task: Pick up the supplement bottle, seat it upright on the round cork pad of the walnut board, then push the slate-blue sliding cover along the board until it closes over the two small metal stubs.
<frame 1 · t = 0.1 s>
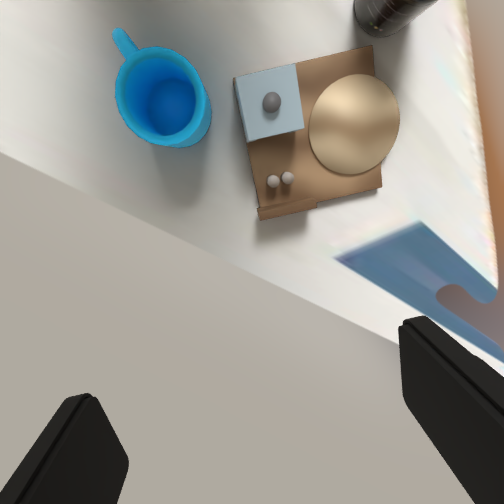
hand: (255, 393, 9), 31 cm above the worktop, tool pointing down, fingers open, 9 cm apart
cover: (269, 106, 31), point 4 cm above the worktop, slide at 0.0 cm
mug: (167, 96, 34), on the worktop
board: (310, 137, 36), on the worktop
supplement bottle: (381, 4, 32), on the worktop
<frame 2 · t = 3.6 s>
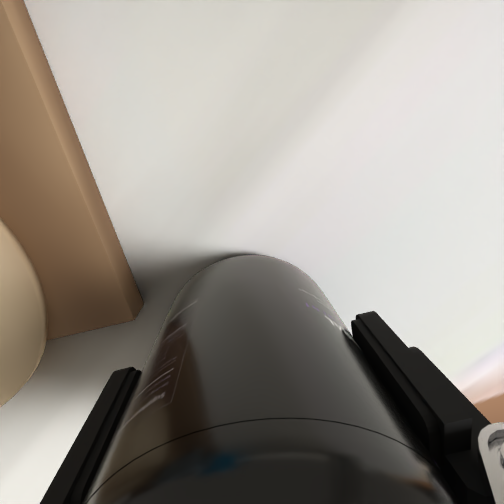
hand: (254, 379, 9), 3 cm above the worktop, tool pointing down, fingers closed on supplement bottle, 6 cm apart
supplement bottle: (248, 320, 13), on the worktop, touching gripper
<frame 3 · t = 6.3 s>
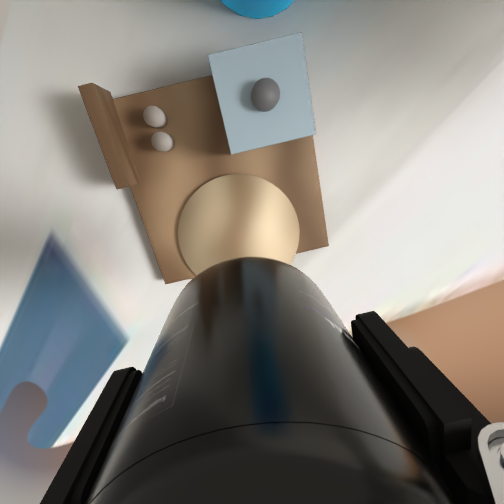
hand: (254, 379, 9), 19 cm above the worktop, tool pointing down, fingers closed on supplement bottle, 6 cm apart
cover: (262, 101, 20), point 4 cm above the worktop, slide at 0.0 cm
board: (226, 180, 26), on the worktop
supplement bottle: (248, 322, 13), point 16 cm above the worktop, touching gripper
when the fingers open (6 cm above the worktop, at t = 9.2 s): supplement bottle drops 1 cm, resting on board.
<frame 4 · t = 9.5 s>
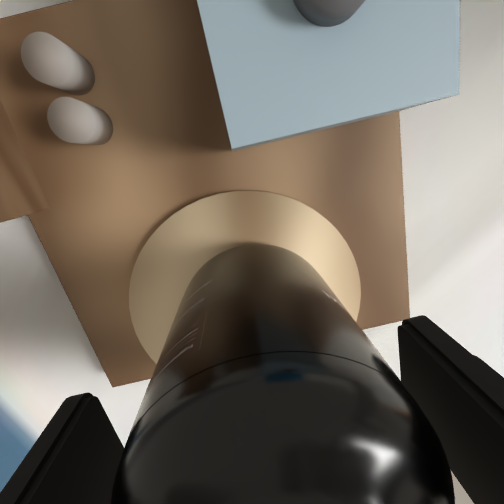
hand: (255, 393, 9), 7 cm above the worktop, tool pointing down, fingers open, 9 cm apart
cover: (309, 15, 8), point 4 cm above the worktop, slide at 0.0 cm
board: (222, 200, 14), on the worktop
supplement bottle: (254, 305, 14), point 1 cm above the worktop, touching board
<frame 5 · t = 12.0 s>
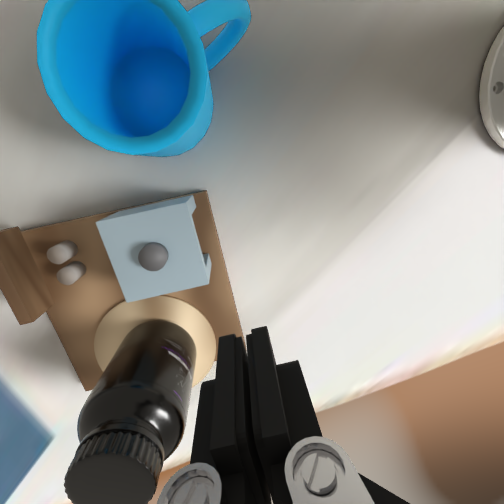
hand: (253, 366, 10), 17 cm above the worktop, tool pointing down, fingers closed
cover: (160, 247, 21), point 4 cm above the worktop, slide at 0.0 cm
mug: (180, 86, 22), on the worktop
board: (143, 294, 27), on the worktop
supplement bottle: (160, 348, 27), point 1 cm above the worktop, touching board
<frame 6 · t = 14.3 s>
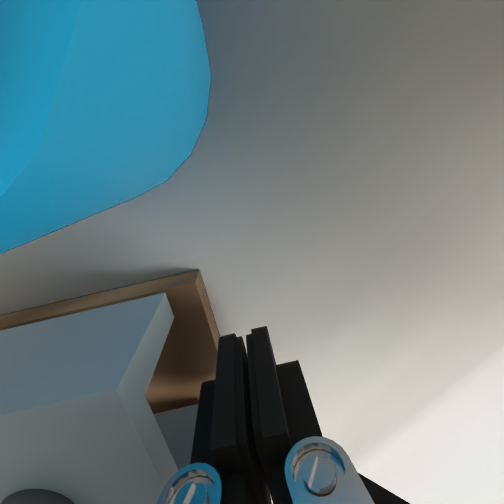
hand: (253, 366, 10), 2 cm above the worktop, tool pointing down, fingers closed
cover: (78, 444, 8), point 4 cm above the worktop, slide at 0.0 cm, touching gripper
mug: (128, 34, 9), on the worktop
board: (85, 455, 14), on the worktop
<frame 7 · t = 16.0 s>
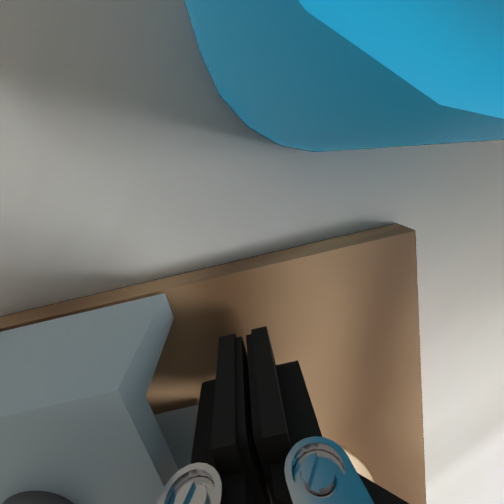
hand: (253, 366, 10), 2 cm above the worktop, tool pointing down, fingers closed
cover: (78, 445, 8), point 4 cm above the worktop, slide at 7.9 cm, touching gripper
board: (243, 420, 14), on the worktop
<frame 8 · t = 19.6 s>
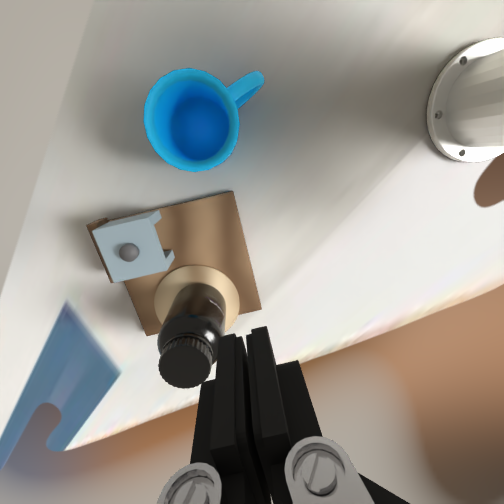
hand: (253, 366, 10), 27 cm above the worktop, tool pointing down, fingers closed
cover: (135, 246, 32), point 4 cm above the worktop, slide at 7.8 cm
mug: (215, 120, 32), on the worktop
board: (187, 266, 37), on the worktop
supplement bottle: (200, 304, 38), point 1 cm above the worktop, touching board
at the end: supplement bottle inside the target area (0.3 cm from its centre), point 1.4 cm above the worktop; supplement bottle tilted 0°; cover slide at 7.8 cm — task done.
